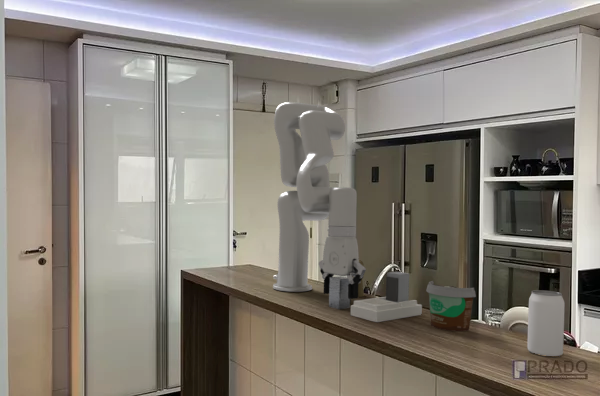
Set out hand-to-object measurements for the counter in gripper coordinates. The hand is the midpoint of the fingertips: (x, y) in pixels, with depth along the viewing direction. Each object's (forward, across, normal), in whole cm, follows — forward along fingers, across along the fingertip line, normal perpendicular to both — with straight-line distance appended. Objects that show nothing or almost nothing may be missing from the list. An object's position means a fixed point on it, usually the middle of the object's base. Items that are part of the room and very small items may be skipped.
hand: (340, 295), depth 144 cm
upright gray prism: (+3, 0, 0) cm, 3 cm away
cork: (+3, -12, +17) cm, 20 cm away
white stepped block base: (+3, +13, +4) cm, 14 cm away
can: (+4, +54, +6) cm, 54 cm away
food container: (+4, +30, +6) cm, 30 cm away
